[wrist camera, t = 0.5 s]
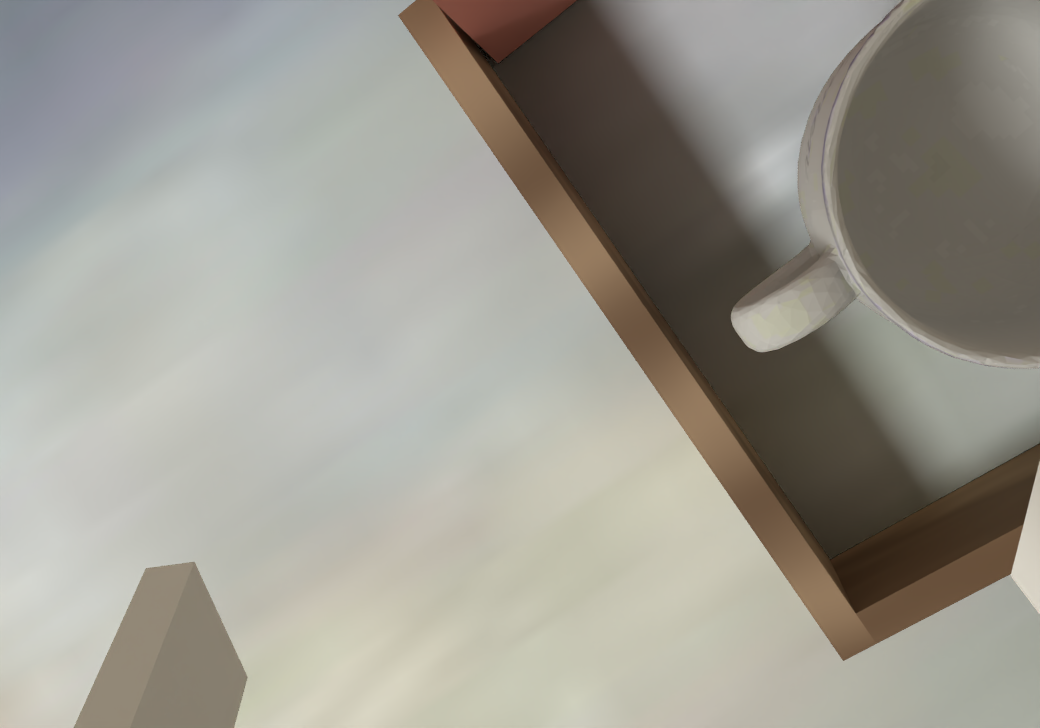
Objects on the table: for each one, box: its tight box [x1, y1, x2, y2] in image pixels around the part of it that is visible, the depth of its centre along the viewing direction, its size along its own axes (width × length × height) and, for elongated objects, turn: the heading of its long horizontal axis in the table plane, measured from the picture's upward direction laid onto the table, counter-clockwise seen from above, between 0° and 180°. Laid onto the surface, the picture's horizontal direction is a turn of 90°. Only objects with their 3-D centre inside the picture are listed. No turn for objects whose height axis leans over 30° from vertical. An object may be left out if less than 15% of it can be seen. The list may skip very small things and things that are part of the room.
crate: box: [398, 0, 1040, 661], centre depth 27 cm, size 25×20×4 cm
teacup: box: [731, 0, 1040, 368], centre depth 25 cm, size 14×11×8 cm
